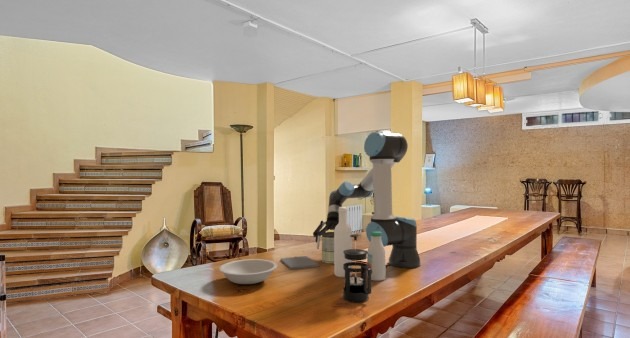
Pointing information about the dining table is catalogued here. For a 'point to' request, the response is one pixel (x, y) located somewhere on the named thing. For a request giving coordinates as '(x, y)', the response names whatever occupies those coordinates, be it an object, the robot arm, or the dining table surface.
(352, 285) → the french press
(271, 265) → the soup bowl
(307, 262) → the grey mat
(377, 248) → the milk bottle
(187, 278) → the dining table surface
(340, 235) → the bottle
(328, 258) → the coffee can
